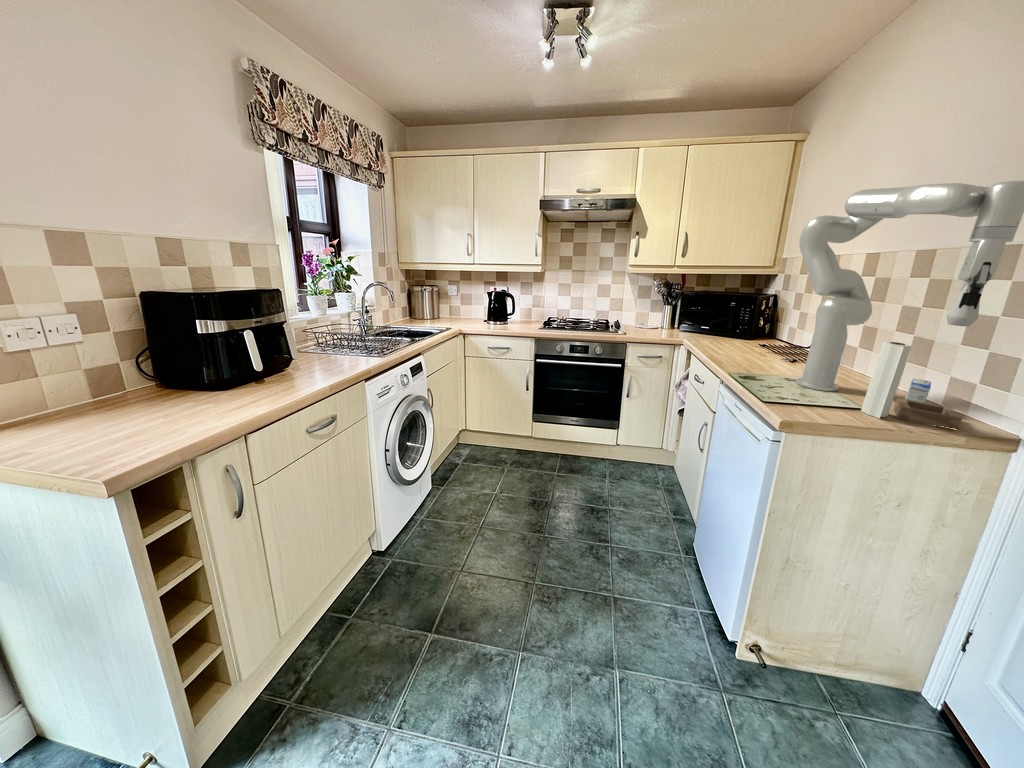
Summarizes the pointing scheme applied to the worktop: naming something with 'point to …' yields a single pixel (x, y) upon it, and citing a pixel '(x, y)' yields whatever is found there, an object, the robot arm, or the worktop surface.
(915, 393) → the medicine box
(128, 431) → the worktop surface
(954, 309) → the salt shaker
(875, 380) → the paper towel roll
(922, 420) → the holder
